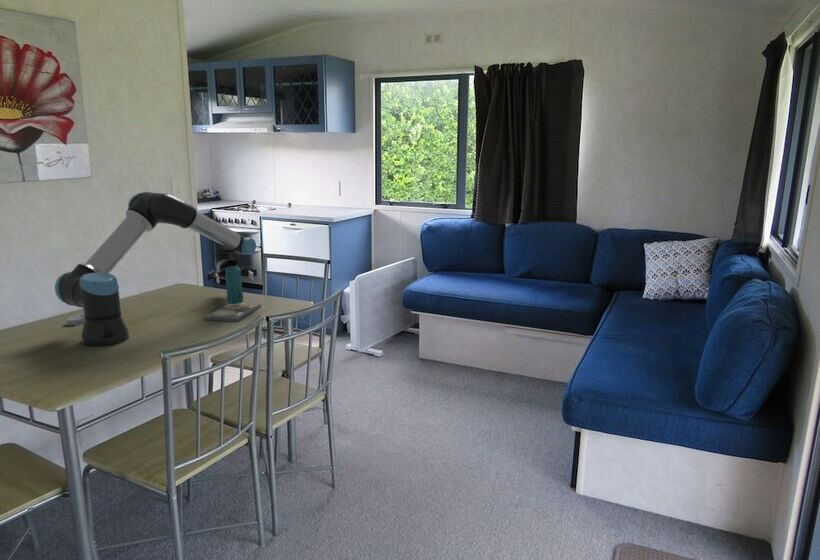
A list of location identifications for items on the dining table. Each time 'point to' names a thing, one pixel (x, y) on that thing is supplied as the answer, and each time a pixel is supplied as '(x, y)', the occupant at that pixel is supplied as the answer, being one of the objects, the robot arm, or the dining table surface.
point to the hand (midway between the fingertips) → (235, 278)
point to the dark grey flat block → (233, 312)
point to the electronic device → (76, 319)
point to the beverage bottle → (233, 282)
